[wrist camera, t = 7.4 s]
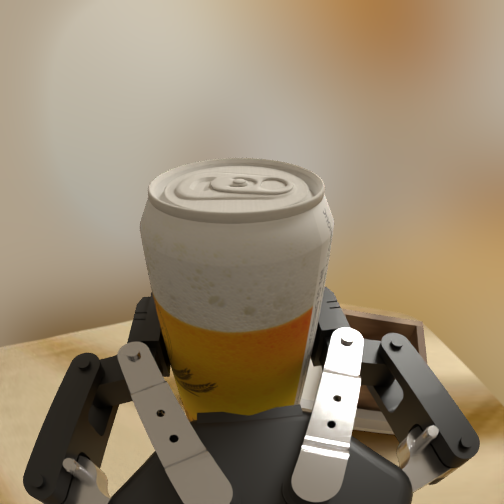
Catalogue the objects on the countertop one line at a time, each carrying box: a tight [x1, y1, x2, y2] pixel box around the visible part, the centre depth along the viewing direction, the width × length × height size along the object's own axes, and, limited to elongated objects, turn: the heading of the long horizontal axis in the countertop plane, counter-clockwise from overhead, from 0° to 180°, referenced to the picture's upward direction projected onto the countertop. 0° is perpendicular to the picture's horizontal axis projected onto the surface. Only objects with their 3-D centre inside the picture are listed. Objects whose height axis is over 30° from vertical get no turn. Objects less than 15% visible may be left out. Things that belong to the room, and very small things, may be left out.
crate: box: [342, 309, 427, 412], centre depth 28 cm, size 10×10×5 cm
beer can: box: [140, 158, 334, 422], centre depth 13 cm, size 6×6×15 cm
